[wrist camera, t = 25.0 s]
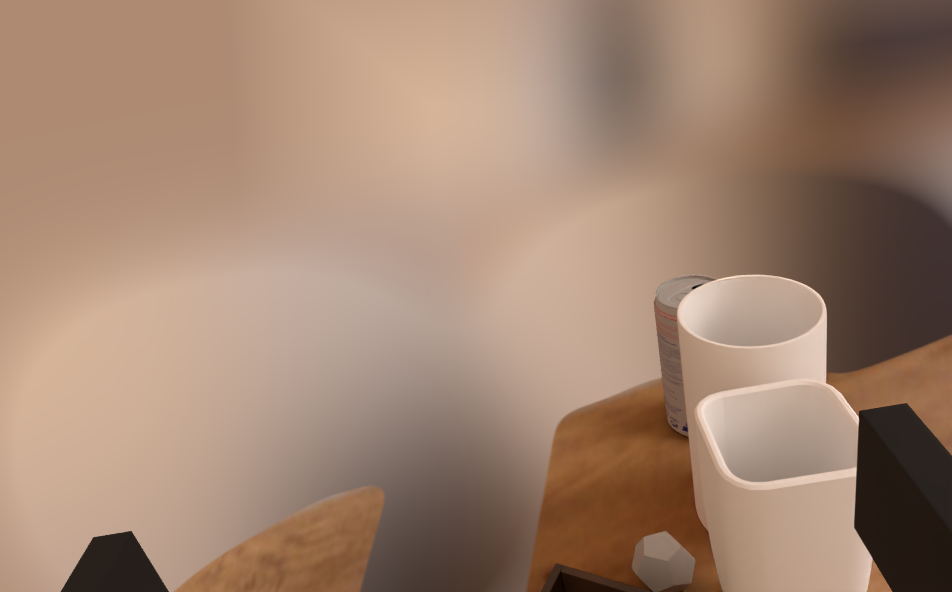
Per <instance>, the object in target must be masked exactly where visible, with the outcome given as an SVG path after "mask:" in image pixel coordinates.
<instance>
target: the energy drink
mask: <svg viewBox="0 0 952 592" xmlns="http://www.w3.org/2000/svg"><path fill="white" fill-rule="evenodd" d="M715 280H718V279H716V278H713V277H710V276H704V275H684V276H680V277H675V278H672V279H670V280H668V281H666V282H664V283H662V285H660V286H659V287H658V289H657V291H656V298H655V301H654V309H655V318H656V326H657V336H658V344H659V353H660V362H661V372H662V380H663V389H664V398H665V407H666V416H667V421H668V423H669V424H670V426H671V427H672V428H673V429H674V430H676V431H677V432H679V433H680V434H682V435H685V436H688V437H689V435H688V425H687V415H686V405H685V395H684V385H683V375H682V365H681V355H680V344H679V334H678V324H677V311H678V307H679V304H680V302H681V301H682V300H683V298H684V297H685V296H686V295H687V294H689V293H690V292H691V291H693V290H694V289H696V288H698V287H699V286H702V285H704V284H706V283H709V282H712V281H715Z"/></svg>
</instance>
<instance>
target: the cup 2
mask: <svg viewBox="0 0 952 592" xmlns="http://www.w3.org/2000/svg"><path fill="white" fill-rule="evenodd" d="M694 413H695V424H696V435H697V446H698V457H699V468H700V476H701V484H702V492H703V500H704V507H705V513H706V519H707V526H708V532H709V538H710V543H711V548H712V552H713V557H714V561H715V566H716V570H717V574H718V578H719V582H720V586H721V589H722V592H867V588H868V583H869V577H870V571H871V564H872V557H871V555H870V553H869V552H868V550H867V548H866V547H865V545H864V543H863V542H862V540H861V538H860V537H859V535H858V533H857V532H856V530H855V529H854V515H855V493H856V471H857V449H858V426H859V417H858V416H857V415H856V413H855V412H854V411H853V409H852V408H851V407H850V405H849V404H848V403H847V401H846V400H845V399H844V397H843V396H842V394H841V393H839V392H838V391H837V390H836V389H835V388H834V387H833V386H831V385H828V384H826V383H824V382H821V381H818V380H812V379H792V380H786V381H780V382H774V383H768V384H763V385H757V386H751V387H745V388H739V389H733V390H727V391H721V392H718V393H714V394H711V395H708V396H707V397H705V398H704V399H702V400H701V401H699V402H698V404H697V406H696V408H695V409H694Z"/></svg>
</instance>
